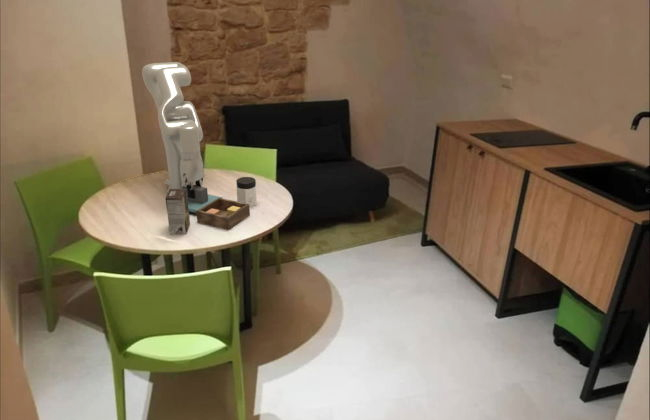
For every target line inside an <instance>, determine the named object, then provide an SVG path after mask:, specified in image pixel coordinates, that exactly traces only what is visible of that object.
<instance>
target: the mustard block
mask: <svg viewBox="0 0 650 420" xmlns="http://www.w3.org/2000/svg"><path fill="white" fill-rule="evenodd" d="M239 209H240V207H236V206H231V207H230V208H228V209H227V217H228V216H229V215H231V214H232V213H234V212H236V211H237V210H239Z"/></svg>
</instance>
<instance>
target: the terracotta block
mask: <svg viewBox="0 0 650 420" xmlns="http://www.w3.org/2000/svg"><path fill="white" fill-rule="evenodd" d="M206 212H208V213H213V214H217V215H220V210H217V209H212V208H211V209H210V210H208V211H206Z"/></svg>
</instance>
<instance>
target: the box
mask: <svg viewBox="0 0 650 420" xmlns="http://www.w3.org/2000/svg"><path fill="white" fill-rule="evenodd" d="M231 206H236V207H240V209H239V210H237V211H236V212H234V213H232V214H231V215H229V216H228V217H227V209H228V208H230V207H231ZM211 208H212V209H217V210H220V215H217V214H213V213H208V212H206V211H208V210H210V209H211ZM250 209H251V208H250V207H249V204H246V203H241V202H237V201H236V200H233V199H232V200H231V199H226V198H224V197H223V198H217V199H216V200H214V201H212V202H211V203H209V204H207V205H205V206H204V207H202V208H200V209H199V210H197V211H196V213H195V214H196V221H197V222H196V223H199V224H202V225H205V226H206V225H207V226H211V227H215V228H218V229H223V230H226V231H230V230H231V229H232V228H234V227H236V226H238V224H240V223H241V222H243V221H244V220H245V219H247V218H248V217H249V216H251V214H250V213H251V211H250Z"/></svg>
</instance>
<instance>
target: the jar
mask: <svg viewBox="0 0 650 420" xmlns="http://www.w3.org/2000/svg"><path fill="white" fill-rule="evenodd" d="M256 180H257V179H256V178H254V177H251V176H241V177H238V178H237V179H236V199H237V202H241V203H246V204H249V208H253V207H256V206H257V182H256Z"/></svg>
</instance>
